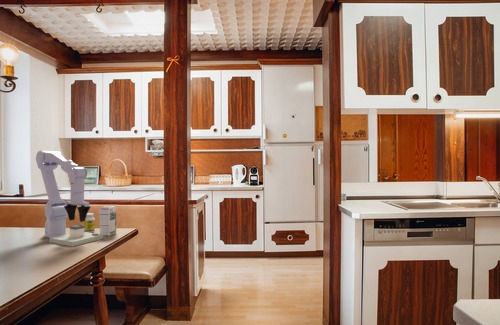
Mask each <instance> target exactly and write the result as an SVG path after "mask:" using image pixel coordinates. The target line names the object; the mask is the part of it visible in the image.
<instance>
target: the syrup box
mask: <svg viewBox="0 0 500 325" xmlns="http://www.w3.org/2000/svg"><path fill="white" fill-rule="evenodd" d="M99 234H102V235H103V236H111V235H114V234H117V205H105V206H100V207H99Z"/></svg>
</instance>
